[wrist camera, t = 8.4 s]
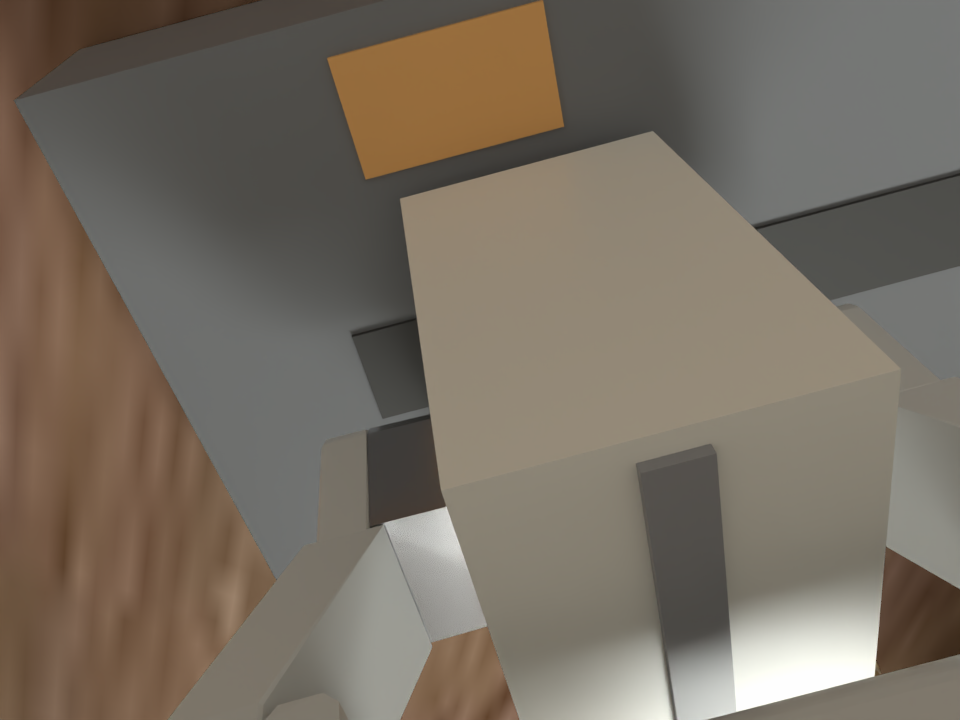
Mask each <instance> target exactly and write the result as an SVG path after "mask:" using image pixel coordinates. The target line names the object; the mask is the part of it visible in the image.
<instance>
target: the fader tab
mask: <svg viewBox="0 0 960 720" xmlns="http://www.w3.org/2000/svg"><path fill="white" fill-rule="evenodd" d="M400 203H401V210H402V217H403V224H404V231H405V238H406V245H407V252H408V260H409V267H410V274H411V281H412V288H413V295H414V302H415V309H416V316H417V323H418V331H419V338H420V345H421V352H422V359H423V366H424V373H425V380H426V387H427V394H428V402H429V409H430V416H431V423H432V430H433V437H434V444H435V451H436V458H437V466H438V473H439V480H440V487H441V492H442V495H443V498H444V501H445V504H446V507H447V509H448V512H449V515H450V518H451V521H452V524H453V527H454V530H455V533H456V536H457V539H458V542H459V544H460V547H461V550H462V553H463V556H464V559H465V562H466V565H467V568H468V571H469V574H470V576H471V579H472V582H473V585H474V588H475V591H476V594H477V597H478V600H479V603H480V606H481V609H482V611H483V614H484V617H485V620H486V623H487V626H488V629H489V632H490V635H491V638H492V641H493V644H494V646H495V649H496V652H497V655H498V658H499V661H500V664H501V667H502V670H503V673H504V676H505V679H506V681H507V684H508V687H509V690H510V693H511V696H512V699H513V702H514V705H515V708H516V711H517V714H518V716H519V719H520V720H707V719H711V718H715V717H719V716H723V715H727V714H731V713H735V712H738V711H742V710H746V709H750V708H754V707H758V706H762V705H766V704H769V703H773V702H777V701H781V700H785V699H789V698H793V697H797V696H800V695H804V694H808V693H812V692H816V691H820V690H824V689H828V688H831V687H835V686H839V685H843V684H847V683H851V682H855V681H859V680H862V679H866V678H870V677H874V676H875V665H876V653H877V642H878V630H879V619H880V607H881V596H882V585H883V573H884V562H885V550H886V539H887V527H888V516H889V504H890V493H891V482H892V470H893V459H894V447H895V436H896V424H897V413H898V401H899V390H900V379H901V368H900V367H899V366H898V365H897V364H896V363H895V362H893V361H892V360H891V359H890V358H889V357H888V356H887V355H886V354H885V353H884V352H883V351H882V350H881V349H880V348H879V347H878V346H877V345H876V344H875V343H874V342H873V341H872V340H871V339H869V338H868V337H867V336H866V335H865V334H864V333H863V332H862V331H861V330H860V329H859V328H858V327H857V326H856V325H855V324H854V323H853V322H852V321H851V320H850V319H849V318H848V317H847V316H845V315H844V314H843V313H842V312H841V311H840V310H839V309H838V308H837V307H836V306H835V305H834V304H833V303H832V302H831V301H830V300H829V299H828V298H827V297H826V296H825V295H824V294H822V293H821V292H820V291H819V290H818V289H817V288H816V287H815V286H814V285H813V284H812V283H811V282H810V281H809V280H808V279H807V278H806V277H805V276H804V275H803V274H802V273H801V272H800V271H798V270H797V269H796V268H795V267H794V266H793V265H792V264H791V263H790V262H789V261H788V260H787V259H786V258H785V257H784V256H783V255H782V254H781V253H780V252H779V251H778V250H777V249H776V248H774V247H773V246H772V245H771V244H770V243H769V242H768V241H767V240H766V239H765V238H764V237H763V236H762V235H761V234H760V233H759V232H758V231H757V230H756V229H755V228H754V227H753V226H752V225H750V224H749V223H748V222H747V221H746V220H745V219H744V218H743V217H742V216H741V215H740V214H739V213H738V212H737V211H736V210H735V209H734V208H733V207H732V206H731V205H730V204H729V203H728V202H726V201H725V200H724V199H723V198H722V197H721V196H720V195H719V194H718V193H717V192H716V191H715V190H714V189H713V188H712V187H711V186H710V185H709V184H708V183H707V182H706V181H705V180H703V179H702V178H701V177H700V176H699V175H698V174H697V173H696V172H695V171H694V170H693V169H692V168H691V167H690V166H689V165H688V164H687V163H686V162H685V161H684V160H683V159H682V158H681V157H679V156H678V155H677V154H676V153H675V152H674V151H673V150H672V149H671V148H670V147H669V146H668V145H667V144H666V143H665V142H664V141H663V140H662V139H661V138H660V137H659V136H658V135H657V134H655V133H654V132H653V131H651V132H647V133H643V134H640V135H636V136H632V137H628V138H625V139H621V140H617V141H613V142H610V143H606V144H602V145H598V146H595V147H591V148H587V149H583V150H580V151H576V152H572V153H569V154H565V155H561V156H557V157H554V158H550V159H546V160H542V161H539V162H535V163H531V164H527V165H524V166H520V167H516V168H512V169H509V170H505V171H501V172H497V173H494V174H490V175H486V176H483V177H479V178H475V179H471V180H468V181H464V182H460V183H456V184H453V185H449V186H445V187H441V188H438V189H434V190H430V191H426V192H423V193H419V194H415V195H412V196H408V197H404V198H400Z"/></svg>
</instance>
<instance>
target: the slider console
mask: <svg viewBox="0 0 960 720" xmlns="http://www.w3.org/2000/svg"><path fill="white" fill-rule="evenodd" d="M14 102H15V103H16V105H17V107H18V109H19V111H20V113H21V114H22V116H23V118H24V120H25V122H26V124H27V125H28V127H29V129H30V131H31V133H32V135H33V136H34V138H35V140H36V142H37V144H38V146H39V147H40V149H41V151H42V153H43V155H44V156H45V158H46V160H47V162H48V164H49V166H50V167H51V169H52V171H53V173H54V175H55V177H56V178H57V180H58V182H59V184H60V186H61V188H62V189H63V191H64V193H65V195H66V197H67V198H68V200H69V202H70V204H71V206H72V208H73V209H74V211H75V213H76V215H77V217H78V219H79V220H80V222H81V224H82V226H83V228H84V230H85V231H86V233H87V235H88V237H89V239H90V240H91V242H92V244H93V246H94V248H95V250H96V251H97V253H98V255H99V257H100V259H101V261H102V262H103V264H104V266H105V268H106V270H107V272H108V273H109V275H110V277H111V279H112V281H113V283H114V284H115V286H116V288H117V290H118V292H119V293H120V295H121V297H122V299H123V301H124V303H125V304H126V306H127V308H128V310H129V312H130V314H131V315H132V317H133V319H134V321H135V323H136V325H137V326H138V328H139V330H140V332H141V334H142V335H143V337H144V339H145V341H146V343H147V345H148V346H149V348H150V350H151V352H152V354H153V356H154V357H155V359H156V361H157V363H158V365H159V367H160V368H161V370H162V372H163V374H164V376H165V377H166V379H167V381H168V383H169V385H170V387H171V388H172V390H173V392H174V394H175V396H176V398H177V399H178V401H179V403H180V405H181V407H182V409H183V410H184V412H185V414H186V416H187V418H188V420H189V421H190V423H191V425H192V427H193V429H194V430H195V432H196V434H197V436H198V438H199V440H200V441H201V443H202V445H203V447H204V449H205V451H206V452H207V454H208V456H209V458H210V460H211V462H212V463H213V465H214V467H215V469H216V471H217V472H218V474H219V476H220V478H221V480H222V482H223V483H224V485H225V487H226V489H227V491H228V493H229V494H230V496H231V498H232V500H233V502H234V504H235V505H236V507H237V509H238V511H239V513H240V514H241V516H242V518H243V520H244V522H245V524H246V525H247V527H248V529H249V531H250V533H251V535H252V536H253V538H254V540H255V542H256V544H257V546H258V547H259V549H260V551H261V553H262V555H263V556H264V558H265V560H266V562H267V564H268V566H269V567H270V569H271V571H272V573H273V575H274V577H275V578H276V580H277V579H278V578H279V577H280V575H281V574H282V573H283V571H284V570H285V569H286V568H287V566H288V565H289V564H290V563H291V561H292V560H293V559H294V557H295V556H296V555H297V554H298V552H299V551H300V550H301V549H302V547H303V546H304V545H308V544H311V543H315V542H317V528H318V507H319V487H320V467H321V448H322V446H323V445H324V443H325V441H326V440H327V439H330V438H334V437H338V436H342V435H346V434H350V433H354V432H358V431H362V430H369V428H373V427H378V426H382V425H386V424H390V423H395V422H399V421H403V420H407V419H411V418H416V417H420V416H424V415H428V414H430V409H429V402H428V394H427V387H426V380H425V373H424V366H423V359H422V352H421V345H420V338H419V331H418V323H417V316H416V309H415V302H414V295H413V288H412V281H411V274H410V267H409V260H408V252H407V245H406V238H405V231H404V224H403V217H402V210H401V203H400V198H404V197H408V196H412V195H415V194H419V193H423V192H426V191H430V190H434V189H438V188H441V187H445V186H449V185H453V184H456V183H460V182H464V181H468V180H471V179H475V178H479V177H483V176H486V175H490V174H494V173H497V172H501V171H505V170H509V169H512V168H516V167H520V166H524V165H527V164H531V163H535V162H539V161H542V160H546V159H550V158H554V157H557V156H561V155H565V154H569V153H572V152H576V151H580V150H583V149H587V148H591V147H595V146H598V145H602V144H606V143H610V142H613V141H617V140H621V139H625V138H628V137H632V136H636V135H640V134H643V133H647V132H651V131H653V132H654V133H655V134H657V135H658V136H659V137H660V138H661V139H662V140H663V141H664V142H665V143H666V144H667V145H668V146H669V147H670V148H671V149H672V150H673V151H674V152H675V153H676V154H677V155H678V156H679V157H681V158H682V159H683V160H684V161H685V162H686V163H687V164H688V165H689V166H690V167H691V168H692V169H693V170H694V171H695V172H696V173H697V174H698V175H699V176H700V177H701V178H702V179H703V180H705V181H706V182H707V183H708V184H709V185H710V186H711V187H712V188H713V189H714V190H715V191H716V192H717V193H718V194H719V195H720V196H721V197H722V198H723V199H724V200H725V201H726V202H728V203H729V204H730V205H731V206H732V207H733V208H734V209H735V210H736V211H737V212H738V213H739V214H740V215H741V216H742V217H743V218H744V219H745V220H746V221H747V222H748V223H749V224H750V225H752V226H753V227H754V228H755V229H756V230H757V231H758V232H759V233H760V234H761V235H762V236H763V237H764V238H765V239H766V240H767V241H768V242H769V243H770V244H771V245H772V246H773V247H774V248H776V249H777V250H778V251H779V252H780V253H781V254H782V255H783V256H784V257H785V258H786V259H787V260H788V261H789V262H790V263H791V264H792V265H793V266H794V267H795V268H796V269H797V270H798V271H800V272H801V273H802V274H803V275H804V276H805V277H806V278H807V279H808V280H809V281H810V282H811V283H812V284H813V285H814V286H815V287H816V288H817V289H818V290H819V291H820V292H821V293H822V294H824V295H825V296H826V297H827V298H828V299H829V300H830V301H831V302H832V303H833V304H834V305H835V306H836V307H837V306H841V305H844V304H847V303H849V304H852V305H856V306H858V307H859V308H861V309H862V310H863V311H864V312H865V313H866V314H867V315H868V316H870V317H871V318H872V319H873V320H874V321H875V322H876V323H877V324H878V325H880V326H881V327H882V328H883V329H884V330H885V331H886V332H887V333H888V334H890V335H891V336H892V337H893V338H894V339H895V340H896V341H897V342H898V343H900V344H901V345H902V346H903V347H904V348H905V349H906V350H907V351H909V352H910V353H911V354H912V355H913V356H914V357H915V358H916V359H917V360H919V361H920V362H921V363H922V364H923V365H924V366H925V367H926V368H927V369H929V370H930V371H931V372H932V373H933V374H934V375H935V376H936V377H938V378H939V379H940V380H944V379H948V378H952V377H957V378H960V0H261V1H257V2H254V3H250V4H246V5H242V6H239V7H235V8H231V9H228V10H224V11H220V12H217V13H213V14H209V15H205V16H202V17H198V18H194V19H191V20H187V21H183V22H180V23H176V24H172V25H168V26H165V27H161V28H157V29H154V30H150V31H146V32H143V33H139V34H135V35H131V36H128V37H124V38H120V39H117V40H113V41H109V42H105V43H102V44H98V45H94V46H91V47H87V48H83V49H80V50H78V51H77V52H76V53H74V54H73V55H72V56H71V57H69V58H68V59H67V60H65V61H64V62H63V63H62V64H60V65H59V66H58V67H56V68H55V69H54V70H53V71H51V72H50V73H49V74H47V75H46V76H45V77H44V78H42V79H41V80H40V81H38V82H37V83H36V84H34V85H33V86H32V87H31V88H29V89H28V90H27V91H25V92H24V93H23V94H22V95H20V96H19V97H18V98H16V99H15V100H14Z"/></svg>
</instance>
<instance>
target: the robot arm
mask: <svg viewBox="0 0 960 720" xmlns="http://www.w3.org/2000/svg"><path fill="white" fill-rule="evenodd" d="M837 308H838V309H839V310H840V311H841V312H842V313H843V314H844V315H845V316H847V317H848V318H849V319H850V320H851V321H852V322H853V323H854V324H855V325H856V326H857V327H858V328H859V329H860V330H861V331H862V332H863V333H864V334H865V335H866V336H867V337H868V338H869V339H871V340H872V341H873V342H874V343H875V344H876V345H877V346H878V347H879V348H880V349H881V350H882V351H883V352H884V353H885V354H886V355H887V356H888V357H889V358H890V359H891V360H892V361H893V362H895V363H896V364H897V365H898V366H899V367H900V368H901V379H900V390H899V401H898V413H897V424H896V436H895V447H894V459H893V470H892V482H891V493H890V504H889V516H888V527H887V539H886V547H888V548H890V549H891V550H893V551H895V552H896V553H898V554H900V555H902V556H903V557H905V558H907V559H909V560H910V561H912V562H914V563H915V564H917V565H919V566H921V567H922V568H924V569H926V570H928V571H929V572H931V573H933V574H935V575H936V576H938V577H940V578H941V579H943V580H945V581H947V582H948V583H950V584H952V585H954V586H955V587H957V588H959V589H960V378H957V377H952V378H948V379H944V380H940V379H939V378H938V377H936V376H935V375H934V374H933V373H932V372H931V371H930V370H929V369H927V368H926V367H925V366H924V365H923V364H922V363H921V362H920V361H919V360H917V359H916V358H915V357H914V356H913V355H912V354H911V353H910V352H909V351H907V350H906V349H905V348H904V347H903V346H902V345H901V344H900V343H898V342H897V341H896V340H895V339H894V338H893V337H892V336H891V335H890V334H888V333H887V332H886V331H885V330H884V329H883V328H882V327H881V326H880V325H878V324H877V323H876V322H875V321H874V320H873V319H872V318H871V317H870V316H868V315H867V314H866V313H865V312H864V311H863V310H862V309H861V308H859V307H858V306H856V305H852V304H849V303H847V304H844V305H841V306H837ZM483 627H487V623H486V620H485V617H484V614H483V611H482V609H481V606H480V603H479V600H478V597H477V594H476V591H475V588H474V585H473V582H472V579H471V576H470V574H469V571H468V568H467V565H466V562H465V559H464V556H463V553H462V550H461V547H460V544H459V542H458V539H457V536H456V533H455V530H454V527H453V524H452V521H451V518H450V515H449V512H448V509H447V507H446V504H445V501H444V498H443V495H442V492H441V487H440V480H439V473H438V466H437V458H436V451H435V444H434V437H433V430H432V423H431V416H430V414H428V415H424V416H420V417H416V418H411V419H407V420H403V421H399V422H395V423H390V424H386V425H382V426H378V427H373V428H369V430H362V431H358V432H354V433H350V434H346V435H342V436H338V437H334V438H330V439H327V440H326V441H325V443H324V445H323V446H322V448H321V467H320V487H319V507H318V528H317V542H315V543H311V544H308V545H304V546H303V547H302V549H301V550H300V551H299V552H298V554H297V555H296V556H295V557H294V559H293V560H292V561H291V563H290V564H289V565H288V566H287V568H286V569H285V570H284V571H283V573H282V574H281V575H280V577H279V578H278V579H277V580H276V582H275V583H274V584H273V586H272V587H271V588H270V589H269V591H268V592H267V593H266V594H265V596H264V597H263V598H262V600H261V601H260V602H259V603H258V605H257V606H256V607H255V609H254V610H253V611H252V612H251V614H250V615H249V616H248V617H247V619H246V620H245V621H244V623H243V624H242V625H241V626H240V628H239V629H238V630H237V632H236V633H235V634H234V635H233V637H232V638H231V639H230V640H229V642H228V643H227V644H226V646H225V647H224V648H223V649H222V651H221V652H220V653H219V655H218V656H217V657H216V658H215V660H214V661H213V662H212V663H211V665H210V666H209V667H208V669H207V670H206V671H205V672H204V674H203V675H202V676H201V678H200V679H199V680H198V681H197V683H196V684H195V685H194V686H193V688H192V689H191V690H190V692H189V693H188V694H187V695H186V697H185V698H184V699H183V701H182V702H181V703H180V704H179V706H178V707H177V708H176V709H175V711H174V712H173V713H172V715H171V716H170V717H169V718H168V720H400V719H401V717H402V715H403V712H404V710H405V708H406V706H407V703H408V701H409V699H410V696H411V694H412V692H413V690H414V687H415V685H416V683H417V681H418V678H419V676H420V674H421V672H422V669H423V667H424V665H425V663H426V660H427V658H428V656H429V653H430V651H431V649H432V645H431V642H435V641H438V640H442V639H445V638H449V637H452V636H456V635H459V634H462V633H466V632H469V631H473V630H476V629H480V628H483ZM707 720H960V654H959V655H955V656H952V657H948V658H944V659H940V660H936V661H932V662H928V663H924V664H921V665H917V666H913V667H909V668H905V669H901V670H897V671H893V672H890V673H886V674H882V675H878V676H874V677H870V678H866V679H862V680H859V681H855V682H851V683H847V684H843V685H839V686H835V687H831V688H828V689H824V690H820V691H816V692H812V693H808V694H804V695H800V696H797V697H793V698H789V699H785V700H781V701H777V702H773V703H769V704H766V705H762V706H758V707H754V708H750V709H746V710H742V711H738V712H735V713H731V714H727V715H723V716H719V717H715V718H711V719H707Z"/></svg>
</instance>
